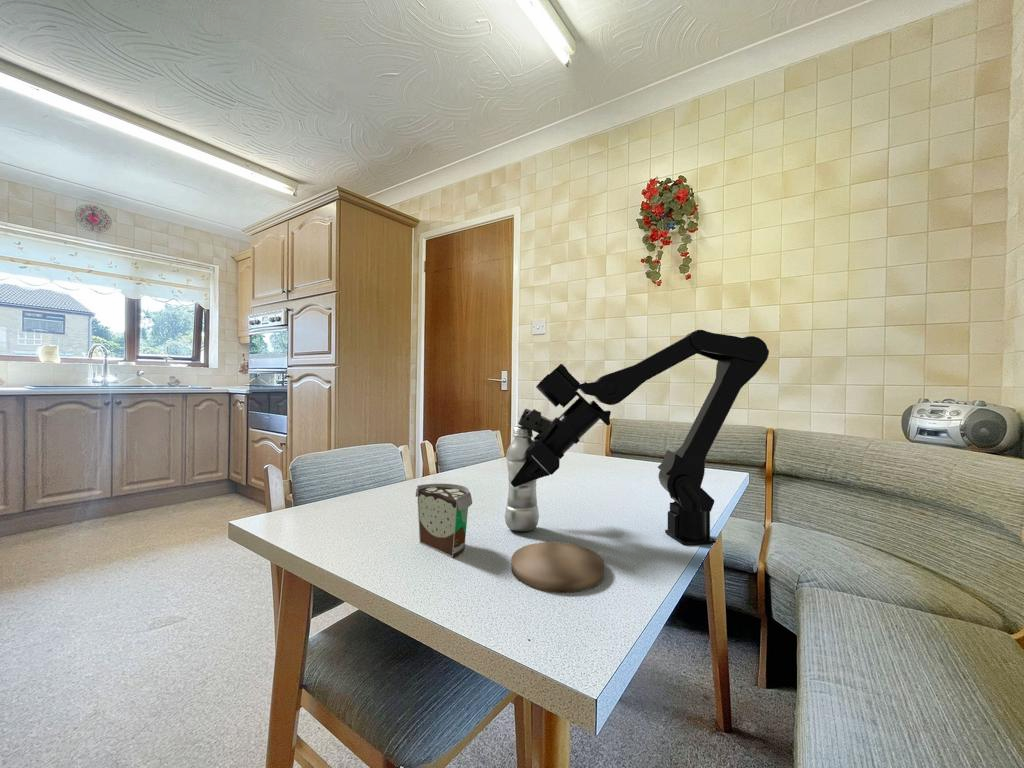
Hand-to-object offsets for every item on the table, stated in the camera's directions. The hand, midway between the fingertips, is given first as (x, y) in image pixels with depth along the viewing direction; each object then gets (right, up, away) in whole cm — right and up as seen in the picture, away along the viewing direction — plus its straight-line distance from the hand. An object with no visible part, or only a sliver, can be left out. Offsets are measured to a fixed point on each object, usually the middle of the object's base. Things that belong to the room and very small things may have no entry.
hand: (515, 479), depth 79 cm
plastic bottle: (+1, -10, 0) cm, 10 cm away
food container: (-11, -10, -9) cm, 17 cm away
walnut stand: (+6, -9, -18) cm, 21 cm away
